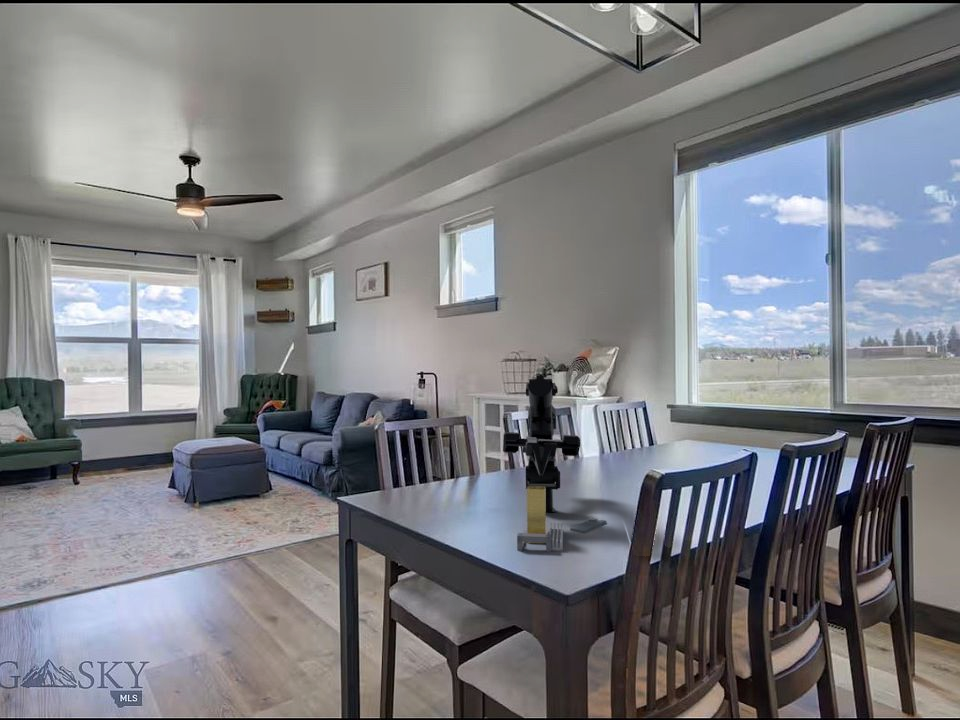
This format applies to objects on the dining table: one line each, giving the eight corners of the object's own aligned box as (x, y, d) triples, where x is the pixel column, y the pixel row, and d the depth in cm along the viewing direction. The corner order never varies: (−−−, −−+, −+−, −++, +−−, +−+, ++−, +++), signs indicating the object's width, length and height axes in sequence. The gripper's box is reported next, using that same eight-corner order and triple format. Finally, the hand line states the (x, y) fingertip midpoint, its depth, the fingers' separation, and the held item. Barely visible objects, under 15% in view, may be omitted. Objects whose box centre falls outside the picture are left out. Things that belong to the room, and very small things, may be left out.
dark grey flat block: (569, 536, 135) (569, 527, 135) (592, 525, 143) (592, 517, 143) (584, 539, 133) (584, 530, 133) (607, 528, 141) (606, 520, 141)
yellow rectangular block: (528, 534, 132) (527, 485, 132) (546, 534, 132) (545, 486, 132) (526, 542, 126) (525, 492, 126) (544, 543, 126) (544, 492, 126)
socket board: (512, 533, 136) (512, 516, 136) (564, 534, 135) (563, 517, 135) (504, 556, 121) (504, 537, 121) (563, 558, 119) (563, 539, 119)
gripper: (573, 438, 155) (576, 492, 145) (503, 434, 156) (501, 488, 146) (579, 414, 146) (582, 470, 136) (504, 411, 147) (502, 466, 137)
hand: (541, 474), depth 139 cm, fingers closed
